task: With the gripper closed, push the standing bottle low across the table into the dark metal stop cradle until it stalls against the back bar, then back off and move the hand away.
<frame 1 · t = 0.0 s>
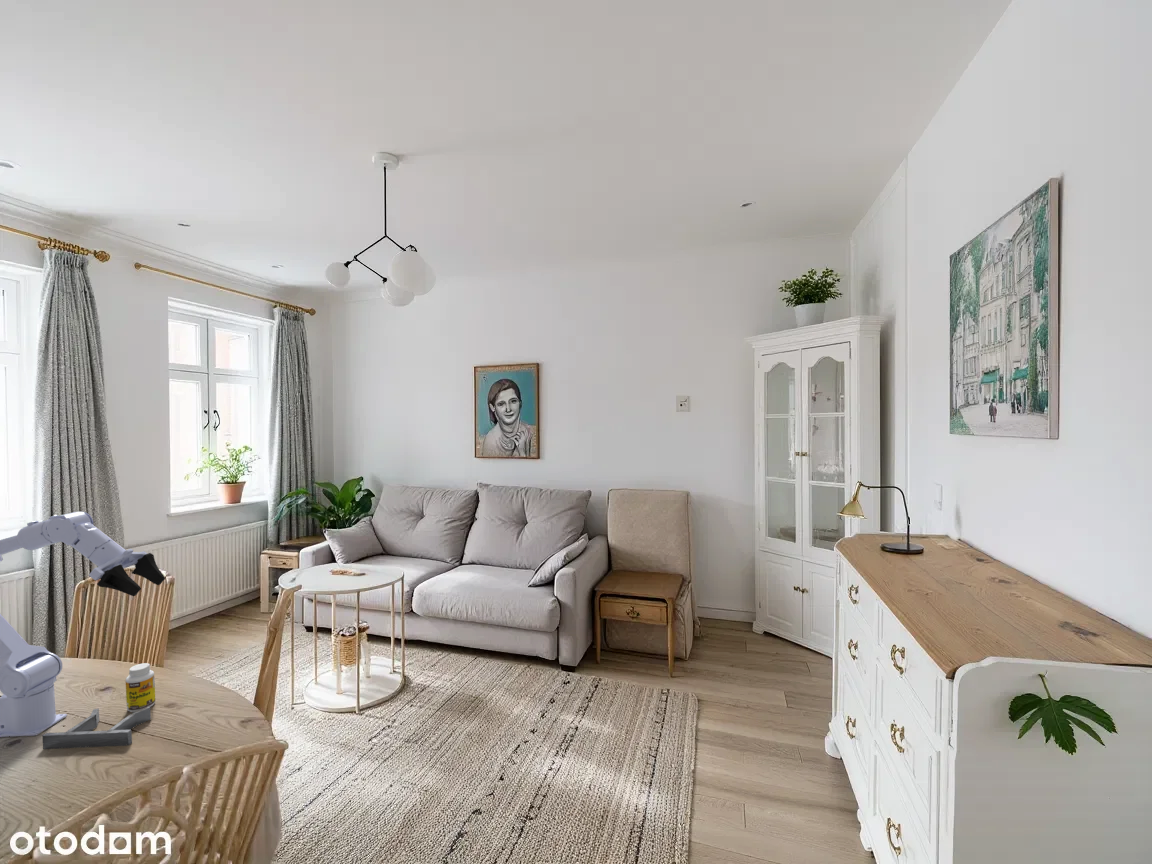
hand: (150, 587, 126), 32 cm above the table, tool tilted 50°, fingers open, 7 cm apart
supplement bottle: (141, 707, 134), on the table
stop cradle: (101, 736, 122), on the table
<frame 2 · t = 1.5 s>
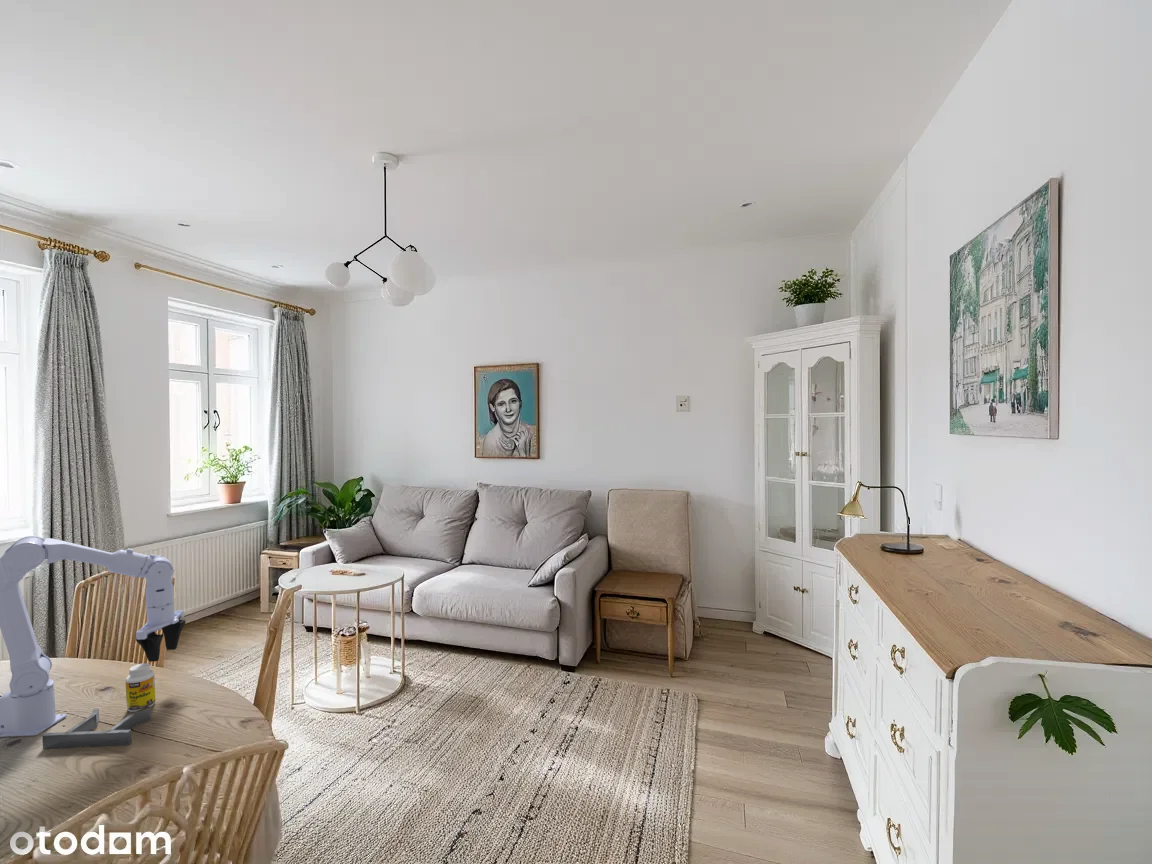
hand: (162, 654, 141), 9 cm above the table, tool pointing down, fingers open, 6 cm apart
nothing on the table moved.
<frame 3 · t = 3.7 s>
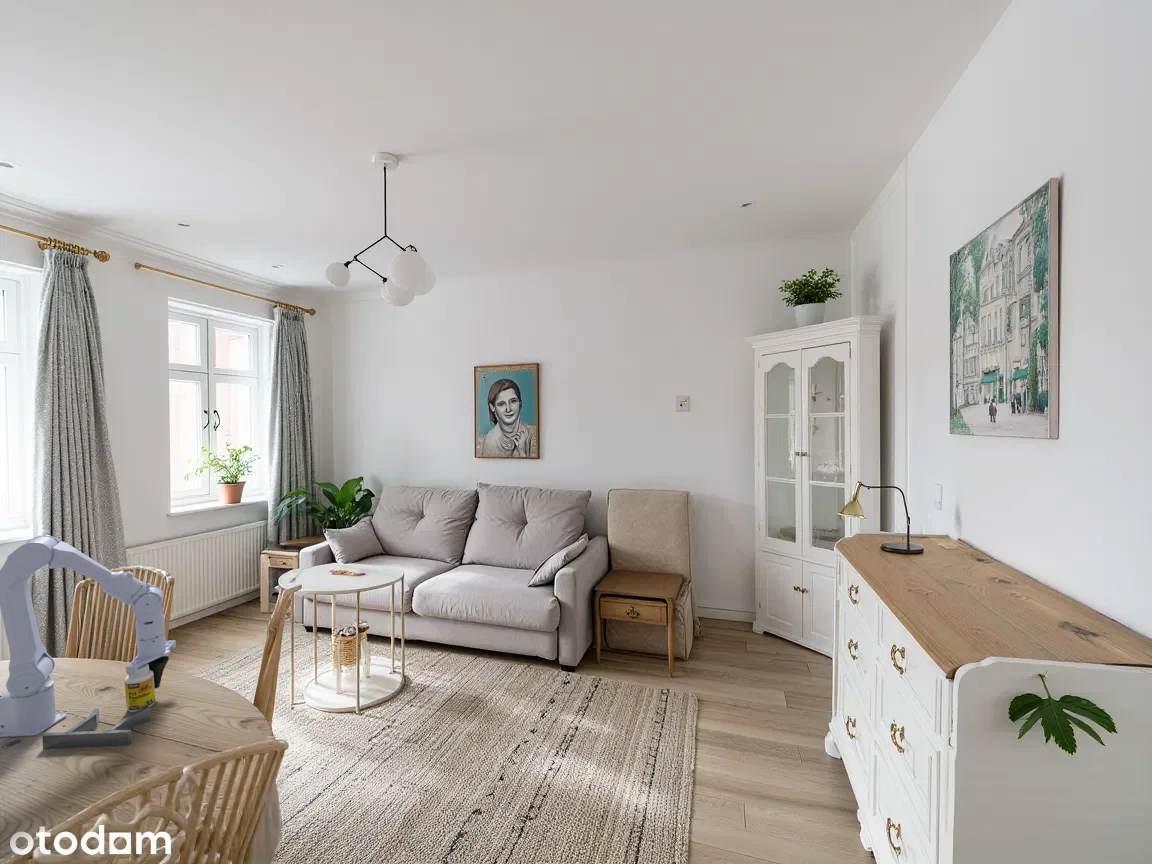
hand: (154, 687, 138), 3 cm above the table, tool pointing down, fingers closed
supplement bottle: (141, 707, 134), on the table, touching gripper
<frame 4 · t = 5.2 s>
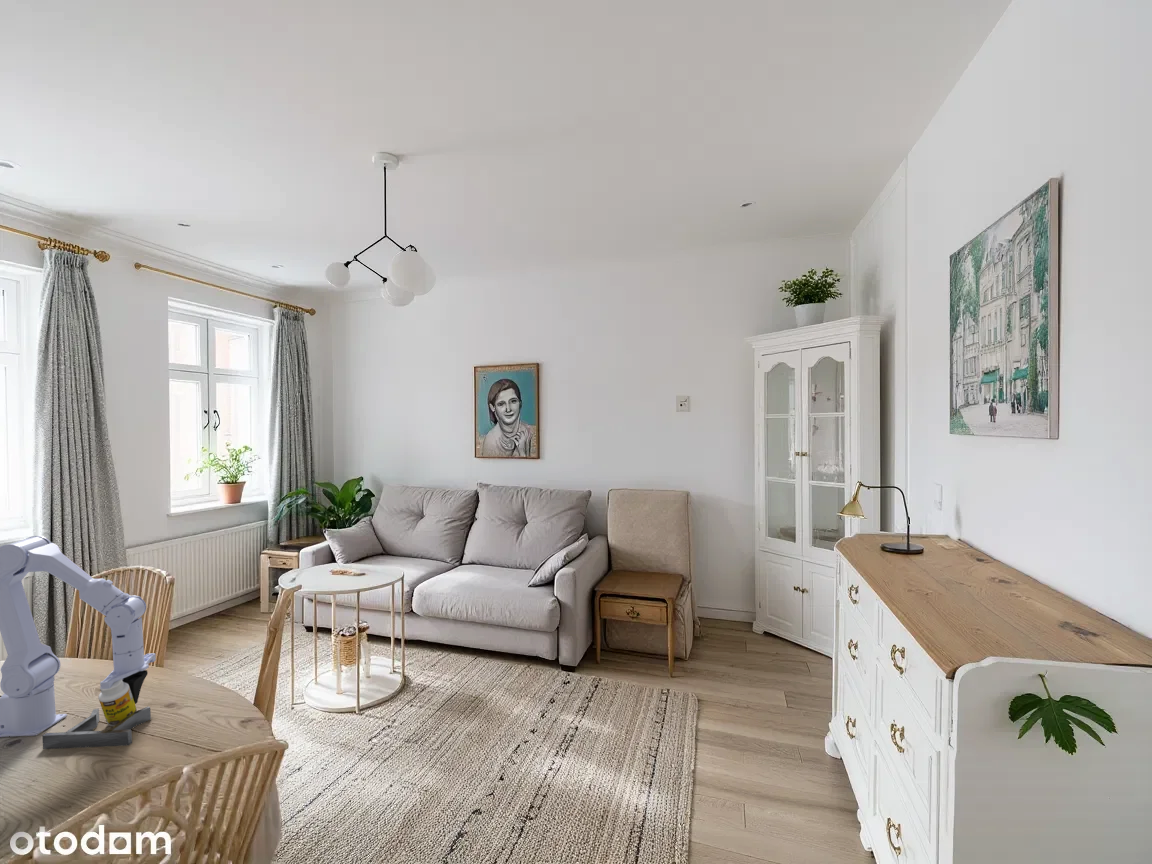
hand: (131, 704, 130), 2 cm above the table, tool pointing down, fingers closed
supplement bottle: (123, 718, 128), point 1 cm above the table, touching gripper
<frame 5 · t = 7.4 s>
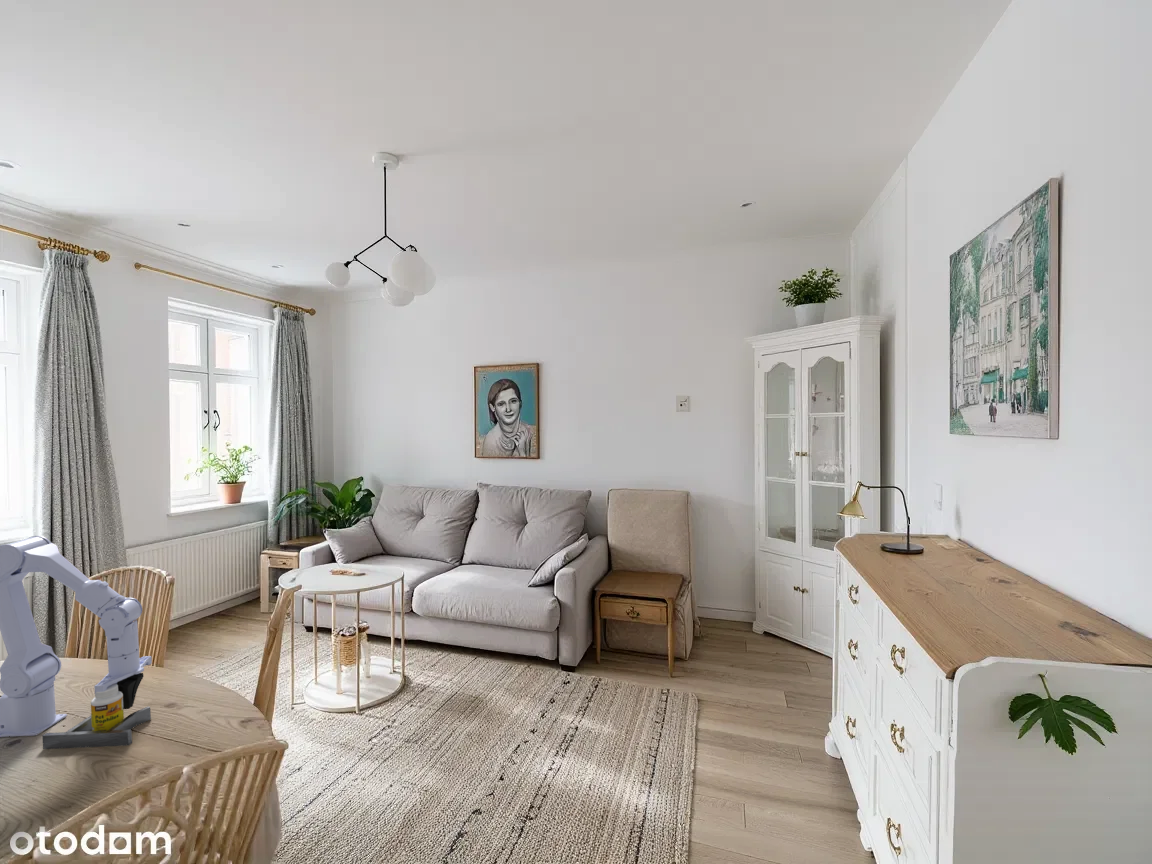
hand: (126, 707, 129), 2 cm above the table, tool pointing down, fingers closed
supplement bottle: (108, 732, 123), on the table
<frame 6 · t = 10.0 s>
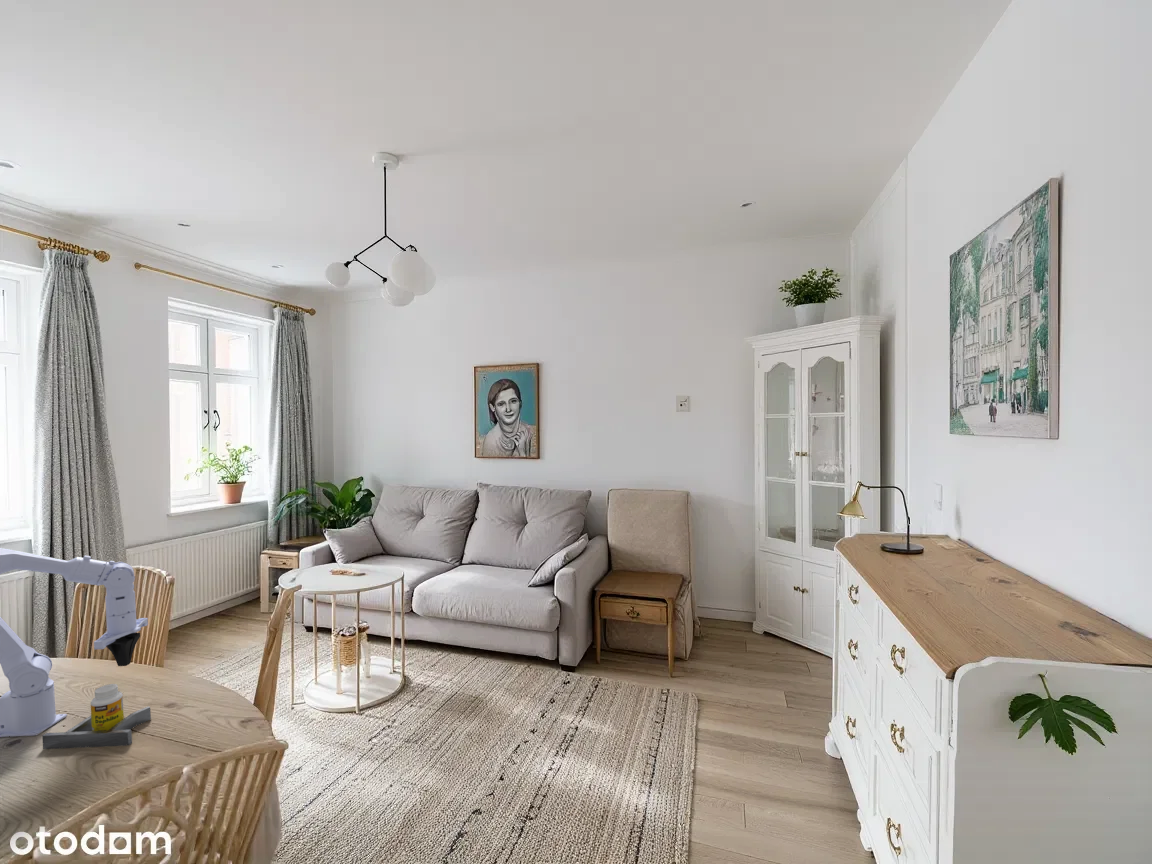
hand: (124, 664, 136), 9 cm above the table, tool pointing down, fingers closed
nothing on the table moved.
at the end: supplement bottle 2.1 cm off-centre on the stop cradle, point 0.0 cm above the stop cradle's base; supplement bottle tilted 0°; supplement bottle moved 10.2 cm from its start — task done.
